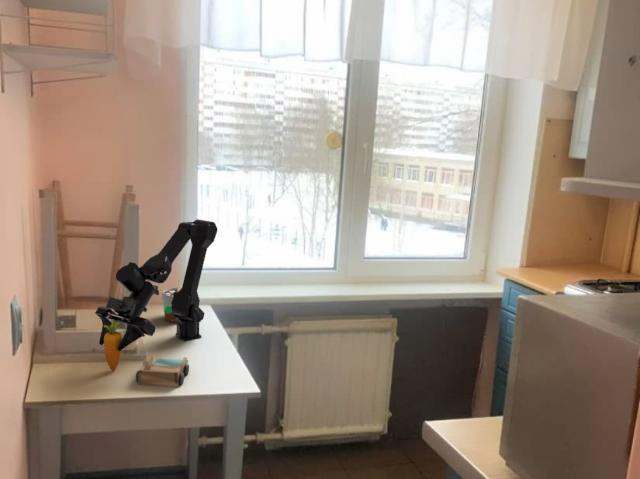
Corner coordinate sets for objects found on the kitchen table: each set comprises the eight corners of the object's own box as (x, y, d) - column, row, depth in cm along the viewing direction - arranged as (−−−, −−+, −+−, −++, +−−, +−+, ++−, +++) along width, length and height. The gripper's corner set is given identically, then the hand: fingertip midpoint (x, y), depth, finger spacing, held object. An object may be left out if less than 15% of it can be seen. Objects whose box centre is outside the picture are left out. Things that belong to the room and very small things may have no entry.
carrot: (116, 375, 166) (116, 324, 163) (100, 373, 167) (99, 322, 164) (125, 368, 171) (125, 319, 168) (110, 366, 172) (109, 316, 169)
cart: (152, 359, 178) (152, 346, 177) (194, 362, 178) (194, 349, 177) (134, 384, 162) (134, 370, 161) (180, 387, 162) (181, 373, 161)
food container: (159, 313, 217) (159, 287, 215) (176, 313, 219) (177, 286, 217) (162, 325, 206) (163, 298, 203) (181, 324, 208) (181, 297, 206)
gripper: (99, 279, 171) (68, 326, 164) (148, 291, 163) (117, 342, 156) (120, 298, 180) (91, 344, 173) (167, 311, 172) (139, 360, 164)
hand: (109, 347), depth 166 cm, fingers open, 7 cm apart
